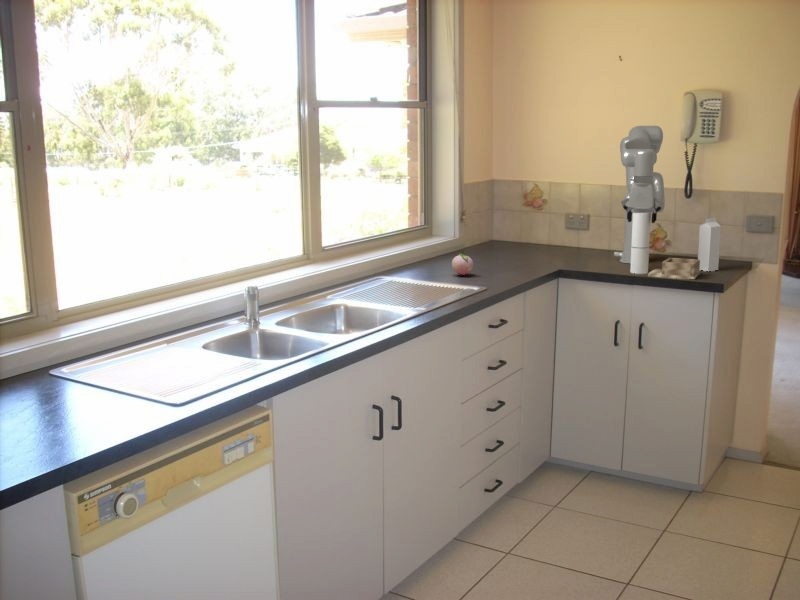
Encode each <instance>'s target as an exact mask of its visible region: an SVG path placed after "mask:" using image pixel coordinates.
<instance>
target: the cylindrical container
mask: <svg viewBox="0 0 800 600" xmlns="http://www.w3.org/2000/svg"><path fill="white" fill-rule="evenodd" d="M651 221H652V213H650V212H633V221H632V245H631V264H630V269H629V271H630V273H631V274H634V273H635V274H634V275H644V274H646V275H648V273H649V260H650V242H651V241H650V240H651V239H650V238H651V237H650V236H651Z"/></svg>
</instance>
